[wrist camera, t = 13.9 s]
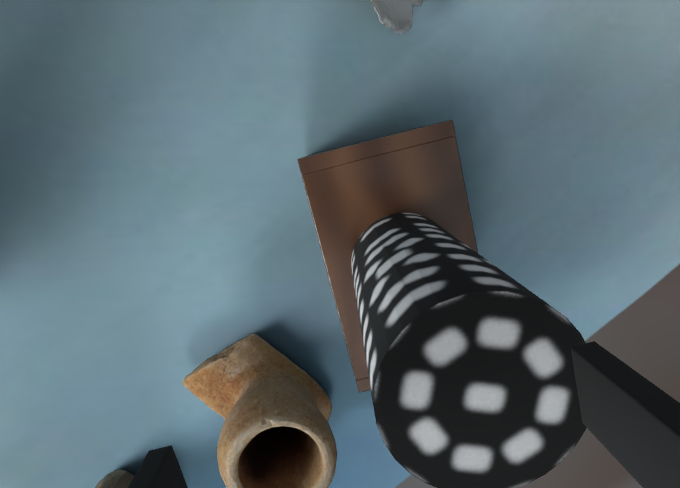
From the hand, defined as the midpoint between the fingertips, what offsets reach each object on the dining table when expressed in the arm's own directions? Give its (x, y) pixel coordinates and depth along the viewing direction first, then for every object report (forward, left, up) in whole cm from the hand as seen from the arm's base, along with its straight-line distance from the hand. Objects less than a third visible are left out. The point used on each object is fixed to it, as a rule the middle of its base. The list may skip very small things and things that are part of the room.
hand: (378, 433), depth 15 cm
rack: (+4, -1, -34) cm, 35 cm away
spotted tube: (+4, -1, -23) cm, 23 cm away
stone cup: (-12, -14, -35) cm, 39 cm away
